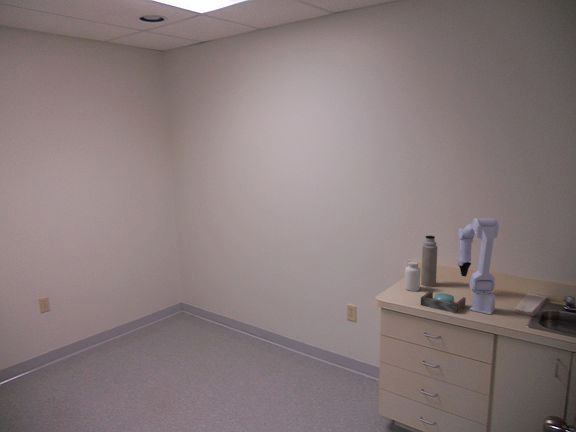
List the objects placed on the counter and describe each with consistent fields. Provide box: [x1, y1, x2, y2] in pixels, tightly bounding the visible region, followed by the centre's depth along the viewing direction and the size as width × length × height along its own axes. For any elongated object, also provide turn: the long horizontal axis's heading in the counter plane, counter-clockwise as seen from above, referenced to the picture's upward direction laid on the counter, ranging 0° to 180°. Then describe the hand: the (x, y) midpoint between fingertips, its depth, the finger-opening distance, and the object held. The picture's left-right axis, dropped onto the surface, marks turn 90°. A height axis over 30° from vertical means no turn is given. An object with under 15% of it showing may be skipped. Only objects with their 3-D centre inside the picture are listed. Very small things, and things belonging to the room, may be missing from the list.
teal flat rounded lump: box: [434, 292, 455, 304], centre depth 209 cm, size 9×9×4 cm
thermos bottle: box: [420, 235, 438, 288], centre depth 237 cm, size 8×8×28 cm
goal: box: [420, 290, 467, 314], centre depth 207 cm, size 17×12×4 cm
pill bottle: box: [404, 261, 421, 292], centre depth 231 cm, size 8×8×15 cm
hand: (464, 275), depth 223 cm, fingers closed
